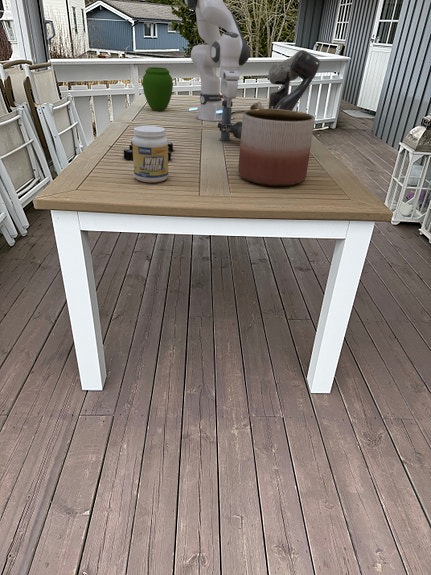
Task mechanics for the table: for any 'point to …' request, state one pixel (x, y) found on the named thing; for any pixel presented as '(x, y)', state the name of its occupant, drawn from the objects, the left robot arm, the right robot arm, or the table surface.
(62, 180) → the table surface
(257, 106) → the seashell
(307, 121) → the planter
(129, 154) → the black printed glove
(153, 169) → the supplement tub
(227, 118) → the dark grey cylinder
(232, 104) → the lid
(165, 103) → the vase
